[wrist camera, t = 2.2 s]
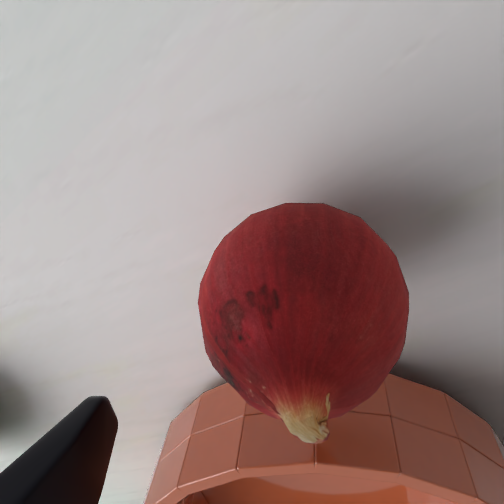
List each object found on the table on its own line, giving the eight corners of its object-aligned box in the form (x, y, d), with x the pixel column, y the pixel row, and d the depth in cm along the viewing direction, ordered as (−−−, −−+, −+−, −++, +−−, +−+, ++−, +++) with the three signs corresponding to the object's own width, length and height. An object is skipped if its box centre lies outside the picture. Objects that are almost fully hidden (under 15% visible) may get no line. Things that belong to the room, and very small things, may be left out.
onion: (231, 303, 18) (179, 503, 11) (214, 166, 15) (129, 323, 8) (380, 306, 17) (426, 524, 10) (395, 161, 14) (473, 332, 7)
